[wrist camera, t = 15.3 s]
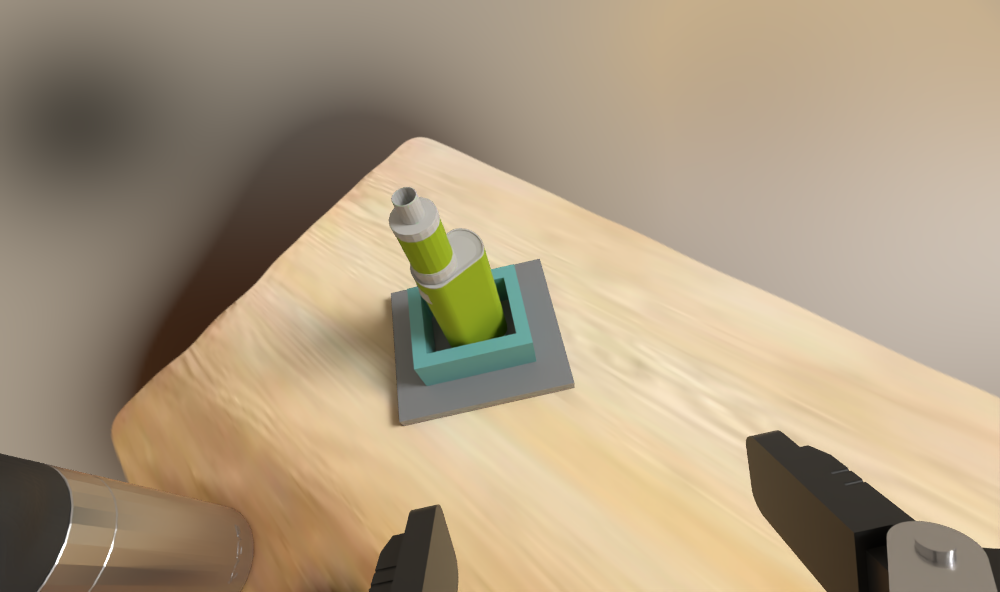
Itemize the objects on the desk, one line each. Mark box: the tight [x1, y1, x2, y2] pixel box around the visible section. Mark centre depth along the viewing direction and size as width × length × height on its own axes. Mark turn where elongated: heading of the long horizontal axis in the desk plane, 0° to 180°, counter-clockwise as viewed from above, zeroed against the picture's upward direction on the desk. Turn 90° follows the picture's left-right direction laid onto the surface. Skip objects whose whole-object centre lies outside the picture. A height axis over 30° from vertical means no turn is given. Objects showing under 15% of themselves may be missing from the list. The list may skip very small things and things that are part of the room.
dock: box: [391, 259, 574, 426], centre depth 45 cm, size 16×14×5 cm
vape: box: [389, 187, 507, 348], centre depth 38 cm, size 4×6×20 cm, turn 130°
